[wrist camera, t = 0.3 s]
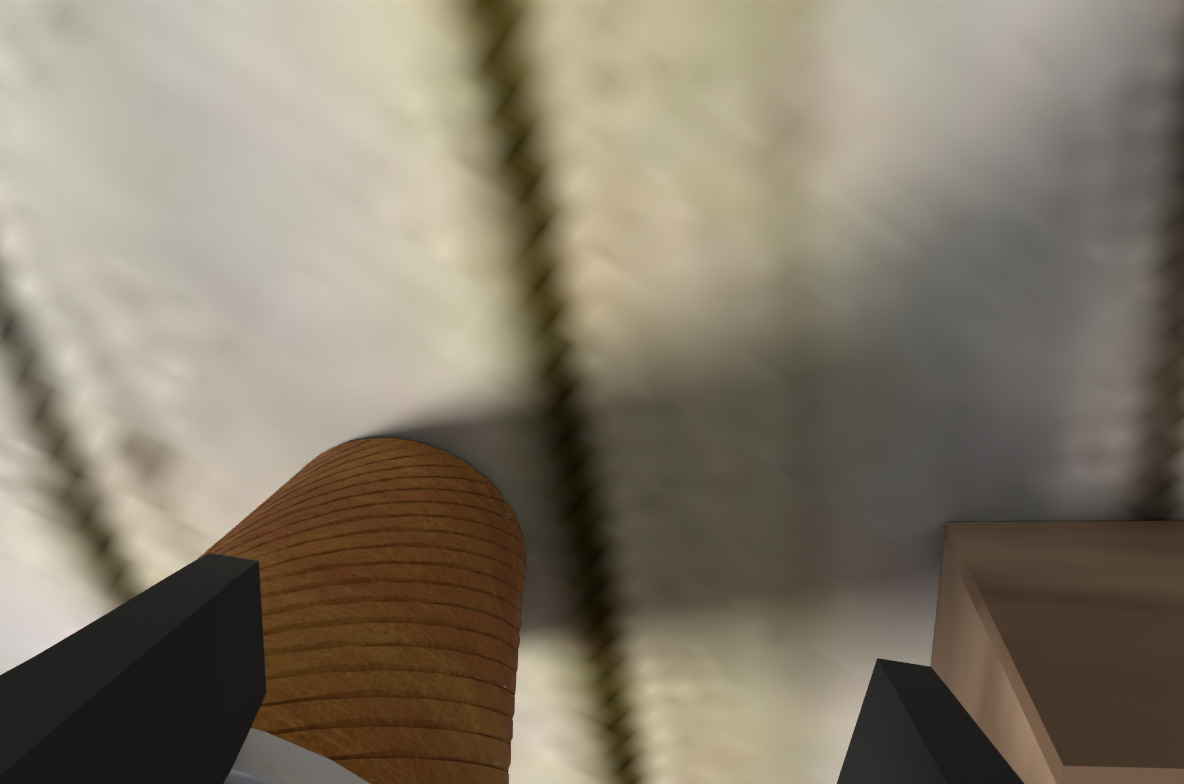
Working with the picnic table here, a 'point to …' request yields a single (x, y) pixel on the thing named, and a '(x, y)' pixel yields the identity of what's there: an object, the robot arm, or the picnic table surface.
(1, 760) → the robot arm
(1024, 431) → the picnic table surface
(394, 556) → the disposable coffee cup
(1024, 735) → the divided wooden sorting box
